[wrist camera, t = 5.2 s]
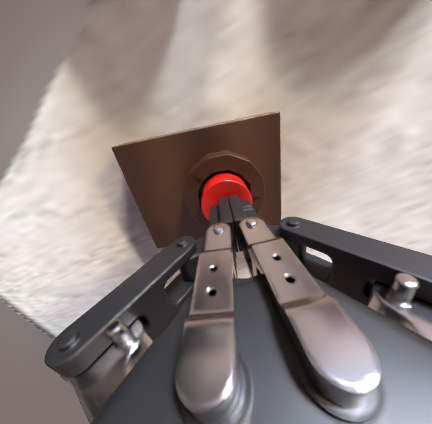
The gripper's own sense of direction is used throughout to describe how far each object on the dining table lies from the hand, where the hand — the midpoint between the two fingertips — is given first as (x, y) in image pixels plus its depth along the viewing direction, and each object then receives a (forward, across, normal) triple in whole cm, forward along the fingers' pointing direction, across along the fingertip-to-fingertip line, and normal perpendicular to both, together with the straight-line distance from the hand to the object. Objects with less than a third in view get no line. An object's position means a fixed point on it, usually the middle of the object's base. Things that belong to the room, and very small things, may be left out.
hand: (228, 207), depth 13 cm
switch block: (+7, +2, 0) cm, 7 cm away
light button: (+2, 0, 0) cm, 3 cm away
